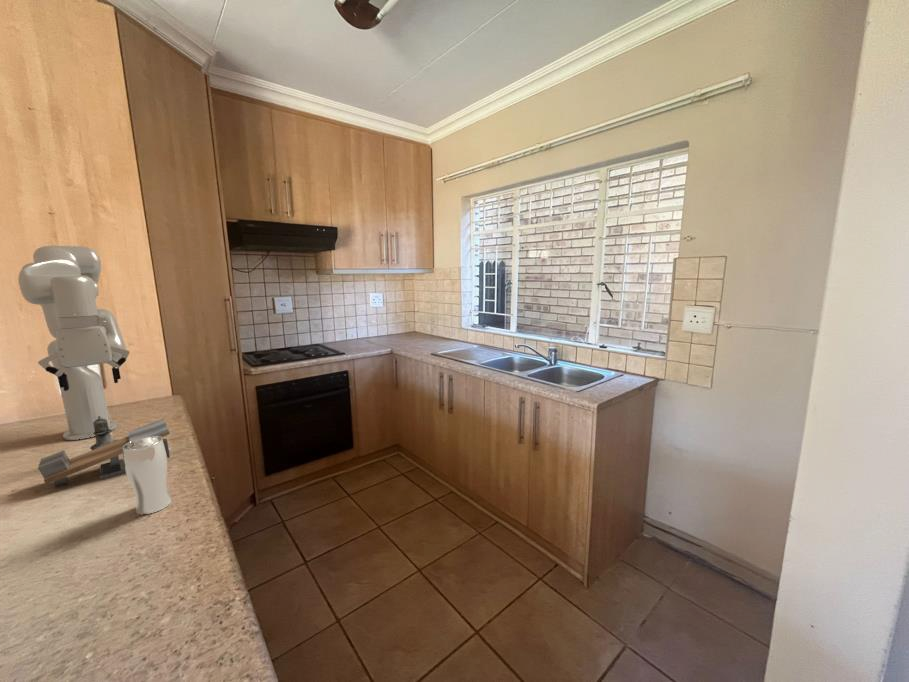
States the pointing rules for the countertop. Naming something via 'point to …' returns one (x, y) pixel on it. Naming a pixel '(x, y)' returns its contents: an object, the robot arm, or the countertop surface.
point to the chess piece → (101, 433)
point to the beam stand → (109, 468)
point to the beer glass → (147, 473)
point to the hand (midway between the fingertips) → (92, 385)
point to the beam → (94, 453)
